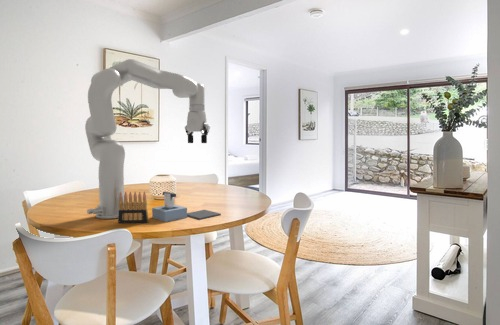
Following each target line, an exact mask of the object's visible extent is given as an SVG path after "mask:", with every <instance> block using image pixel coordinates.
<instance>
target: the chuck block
mask: <svg viewBox="0 0 500 325" xmlns="http://www.w3.org/2000/svg"><path fill="white" fill-rule="evenodd" d="M187 213H188V207H186V206H185V207H184V206H182V205H181V206H180V205H177V204H175V209H170V210H165V207H164V205H162V206H155V207H152V213H151V215H152V219H155V220H158V221H161V222H165V223H166V222H167V223H168V222H173V221H176V220H177V221H178V220H181V219H186V218H187V219H188V216H187Z"/></svg>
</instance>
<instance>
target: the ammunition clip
mask: <svg viewBox="0 0 500 325" xmlns="http://www.w3.org/2000/svg"><path fill="white" fill-rule="evenodd" d="M117 219H118V221H117V222H118V224H147V223H148V222H149V214H148V202H147V194H146V191H143V195H142V193H141V191H139V192H138V195H137V192H136V191H134V193H133V192H132V191H130V192H129V195H128V194H127V191H124V206H123V196H122V193H121V192H120V195H119V217H118V218H117Z"/></svg>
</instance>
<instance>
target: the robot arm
mask: <svg viewBox="0 0 500 325" xmlns="http://www.w3.org/2000/svg"><path fill="white" fill-rule="evenodd" d="M131 81H134V82H137V83H139V84H142V85H144V86H147V87H150V88H152V89H158V90H159V89H160V90H161V89H162V90H164V89H165V90H166V89H167V90H171V91H172V93H173V95H174V96H175V97H176V98H180V99H183V98H187V99H188V100H189V102H188V110H189V111H188V112H187V117H186V118H187V119H186V125H185V126H184V130H185V133H186V135H187V143H188V144H193V143H194V135H193V134H194V132H197V133H198V132H200V133H201V136H200V138H201V139H200V142H201V144H207V143H208V137H207V136H208V134H209V133H210V129H211V125H209V124H208V123H207V116H206V111H205V110H206V109H205V105H206V104H205V86H204V84H203V83H198V82H196V81H194V80H193V79H192V78H190V77H187V76H185V75H183V74H179V73H176V72H170V71H166V70H162V69H158V68H157V67H153V66H151V65H149V64H147V63H145V62H144V63H143V62H141V61H139V60H136V59H134V58H133V59H131V58H127V59H125V60H123V61H121V62H119V63H117V64H115V65H113V66H110V67H108V68H104V69H102V70H100V71H98V72H95V73H94V74H93V75H92V77H91V80H90V85H89V88H88V91H87V102H88V110H89V114H90V115H89V117H88V118H87V119H86V121H85V125H84V126H85V130H84V131H85V134H86V138H87V142H88V147H89V151H90V154H91V157H93V159H95V160H96V161H98V162H99V163H98V164H99V165H98V196H99V197H98V198H99V201H98V202H99V205H98V204H97V205H96V207H94V208H90V209H86V214H87V215H95V218H97V219H101V220H103V219H104V220H111V219H118V217H119V195H120V192H121V193H122V196H123V206H124V194H125V182H124V181H125V177H124V176H125V175H124V174H125V173H124V170H125V169H124V165H125V164H124V163H125V156H126V152H125V150H126V149H125V147H124V146H123V144H122V143H121V142H120V141H118V140H115V139H112V136H113V135H115V133H116V131H117V127H118V126H117V121H116V118H115V113H114V109H113V108H114V107H113V102H112V96H113V93H114V91H115V90H116V89H118V88H119V87H121V86H122V85H124V84H126V83H128V82H131Z"/></svg>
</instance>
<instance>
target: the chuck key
mask: <svg viewBox="0 0 500 325" xmlns="http://www.w3.org/2000/svg"><path fill="white" fill-rule="evenodd" d="M162 195H163V196H164V198H163V199H164V200H163V201H164V205H163V206H164V207H165V210H170V209H175V205H176V204H175V199H176V198H177V194H176V193H175V192H169V191H163V192H162Z"/></svg>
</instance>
